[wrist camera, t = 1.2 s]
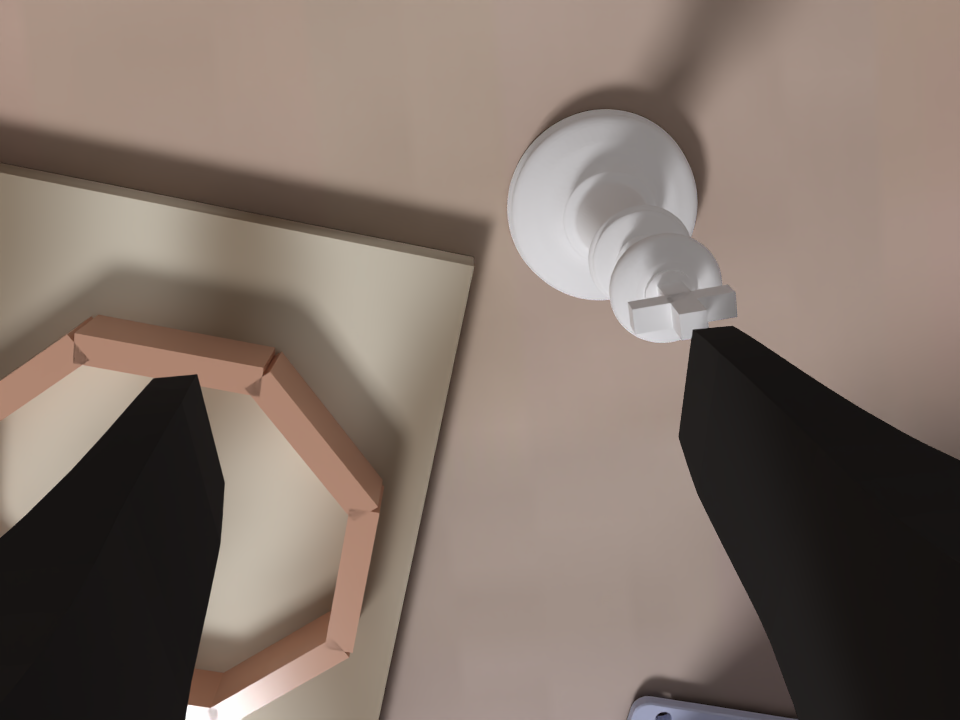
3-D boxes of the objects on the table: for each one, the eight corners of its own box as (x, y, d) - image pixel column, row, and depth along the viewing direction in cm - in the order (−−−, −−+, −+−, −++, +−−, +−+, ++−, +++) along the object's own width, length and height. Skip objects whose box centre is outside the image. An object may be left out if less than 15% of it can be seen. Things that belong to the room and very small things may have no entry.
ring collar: (406, 371, 24) (402, 393, 22) (340, 711, 28) (334, 748, 26) (-41, 288, 23) (-74, 305, 21) (-43, 653, 27) (-71, 688, 25)
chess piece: (702, 278, 24) (855, 439, 15) (523, 310, 24) (561, 487, 15) (685, 92, 22) (847, 138, 13) (492, 128, 22) (514, 198, 13)
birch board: (473, 257, 24) (474, 266, 23) (365, 769, 30) (362, 794, 29) (-68, 149, 22) (-92, 154, 21) (-65, 707, 28) (-83, 730, 28)
